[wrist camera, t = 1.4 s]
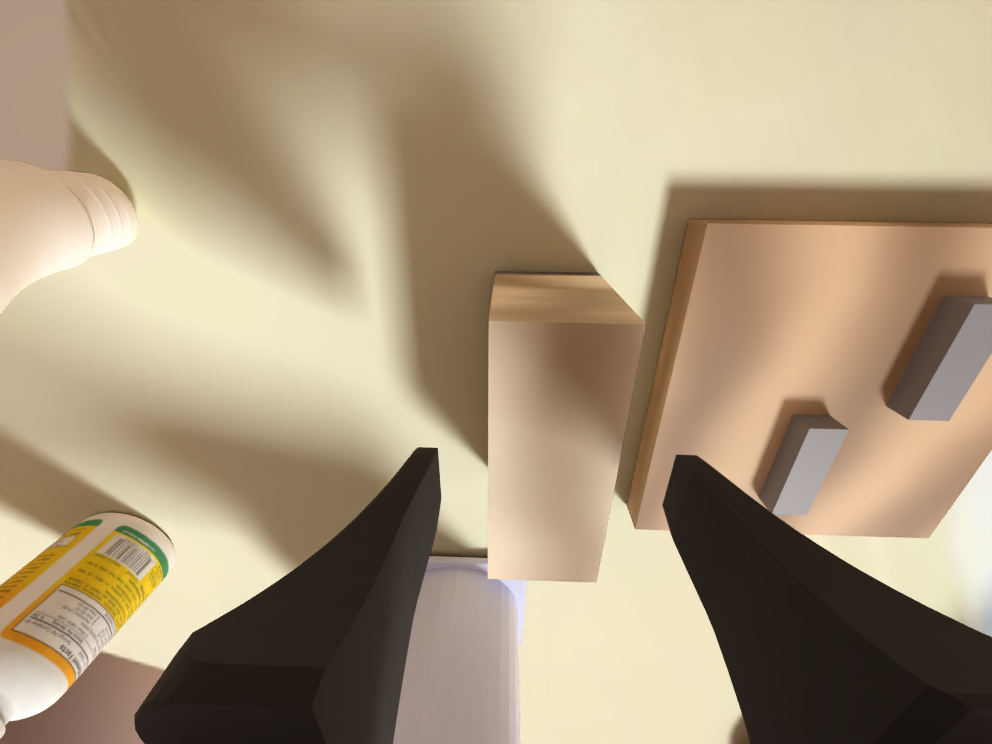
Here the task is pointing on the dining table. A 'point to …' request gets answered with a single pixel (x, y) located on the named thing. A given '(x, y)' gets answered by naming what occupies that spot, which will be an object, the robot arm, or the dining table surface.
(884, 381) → the oak board
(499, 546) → the block
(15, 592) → the supplement bottle
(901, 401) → the grey rectangular block
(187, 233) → the dining table surface
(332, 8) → the dining table surface
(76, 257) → the lightbulb
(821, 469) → the small gray block
